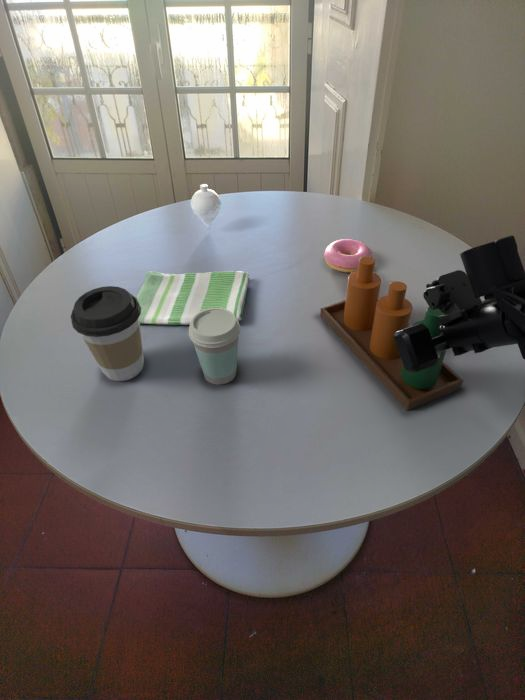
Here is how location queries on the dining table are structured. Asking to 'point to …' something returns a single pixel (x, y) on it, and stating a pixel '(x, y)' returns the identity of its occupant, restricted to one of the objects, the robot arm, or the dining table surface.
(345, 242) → the doughnut
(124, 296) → the coffee cup
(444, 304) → the robot arm
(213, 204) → the spinning top
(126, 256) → the dining table surface
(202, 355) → the coffee cup
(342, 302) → the tray
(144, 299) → the dish towel
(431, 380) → the green bottle
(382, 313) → the amber bottle
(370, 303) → the amber bottle
